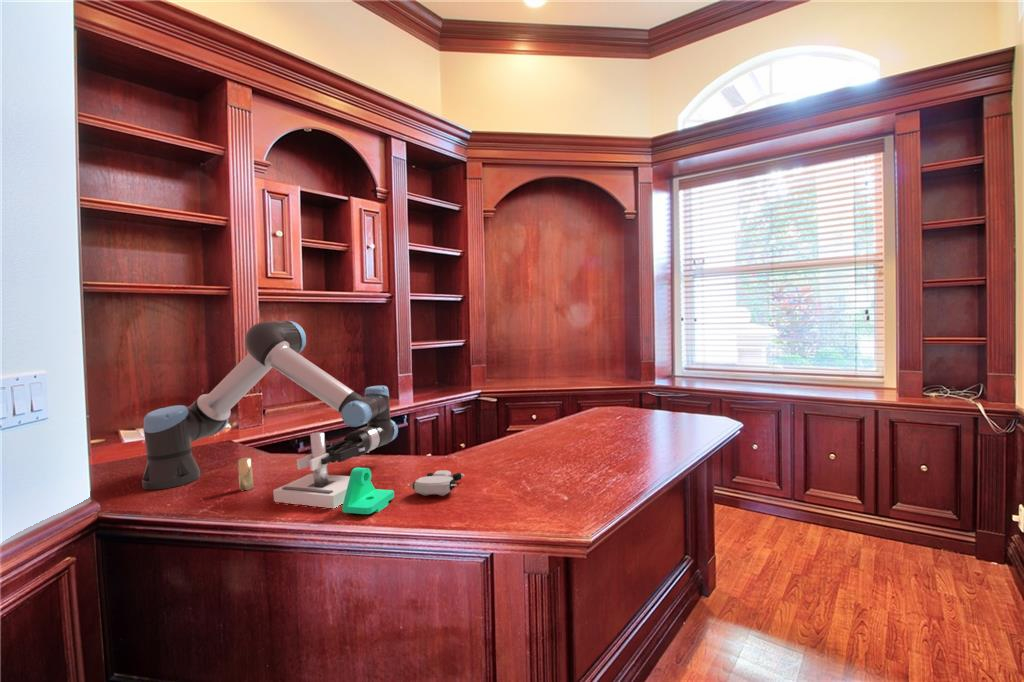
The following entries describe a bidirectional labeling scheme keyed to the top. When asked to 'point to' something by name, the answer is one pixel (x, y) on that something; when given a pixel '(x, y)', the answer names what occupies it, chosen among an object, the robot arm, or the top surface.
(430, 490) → the robot toy
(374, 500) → the camera mount
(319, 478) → the long pin
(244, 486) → the short pin
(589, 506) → the top surface
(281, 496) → the hole plate
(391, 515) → the top surface
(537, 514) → the top surface
